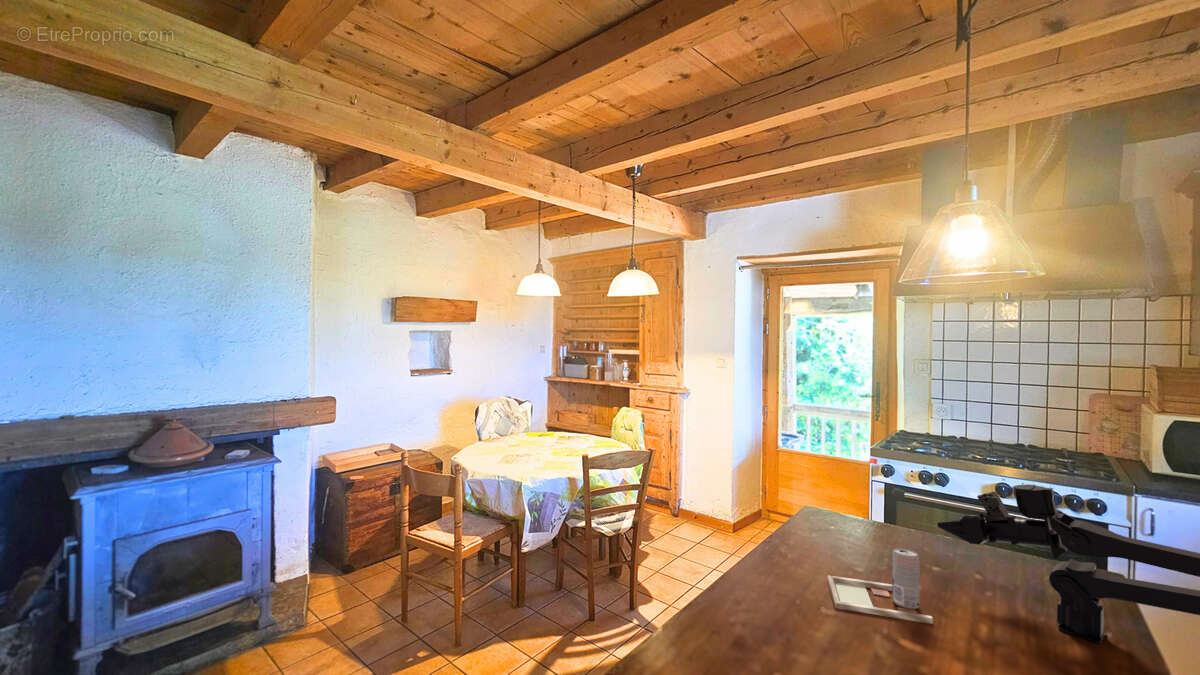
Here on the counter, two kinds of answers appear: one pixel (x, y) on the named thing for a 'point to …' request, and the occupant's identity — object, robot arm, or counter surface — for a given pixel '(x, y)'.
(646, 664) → the counter surface
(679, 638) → the counter surface
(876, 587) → the lane frame
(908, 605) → the energy drink
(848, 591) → the sage tile
